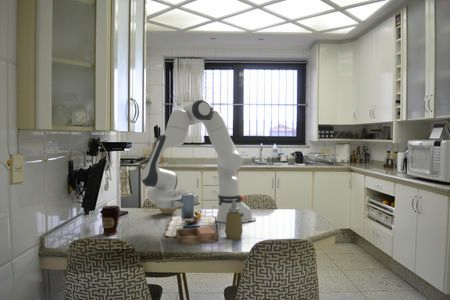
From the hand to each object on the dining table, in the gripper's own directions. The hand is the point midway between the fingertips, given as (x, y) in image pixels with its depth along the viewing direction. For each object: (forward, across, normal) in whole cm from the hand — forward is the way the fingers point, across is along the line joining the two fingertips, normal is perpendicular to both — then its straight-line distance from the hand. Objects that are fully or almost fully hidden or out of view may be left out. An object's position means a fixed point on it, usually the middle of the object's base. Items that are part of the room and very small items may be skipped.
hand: (188, 203), depth 138 cm
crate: (+1, +3, +17) cm, 17 cm away
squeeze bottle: (+12, +16, +17) cm, 27 cm away
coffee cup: (-34, -21, +17) cm, 43 cm away
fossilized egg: (-49, +22, +17) cm, 56 cm away
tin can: (-1, 0, +7) cm, 7 cm away
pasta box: (+4, +7, +16) cm, 18 cm away
